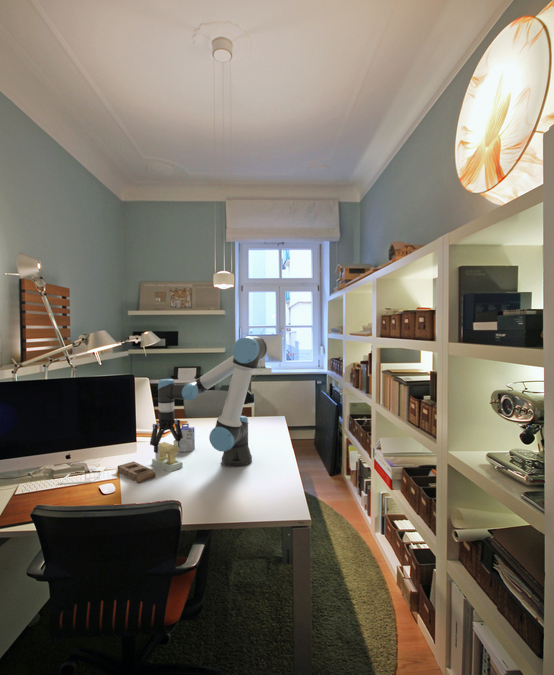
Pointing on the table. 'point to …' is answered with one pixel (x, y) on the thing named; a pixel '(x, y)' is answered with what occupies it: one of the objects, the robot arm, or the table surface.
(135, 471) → the walnut rail
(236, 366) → the robot arm
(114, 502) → the table surface
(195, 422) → the table surface
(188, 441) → the ink cartridge box
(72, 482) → the photo frame
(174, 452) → the tan block
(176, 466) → the holder block
